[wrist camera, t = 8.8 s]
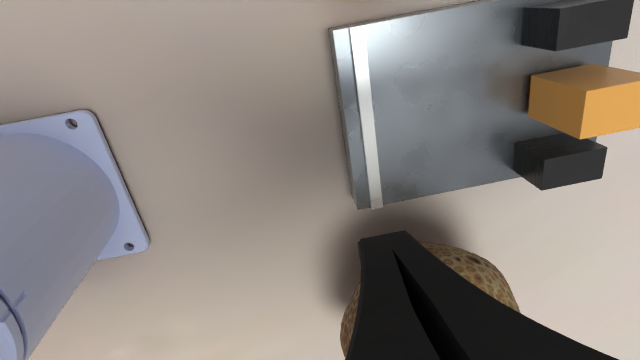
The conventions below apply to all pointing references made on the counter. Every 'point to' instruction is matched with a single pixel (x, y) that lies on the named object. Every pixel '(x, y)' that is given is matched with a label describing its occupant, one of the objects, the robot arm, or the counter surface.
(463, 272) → the natural sponge
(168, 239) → the counter surface
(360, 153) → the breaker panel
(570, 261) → the counter surface
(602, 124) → the block
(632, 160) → the counter surface
